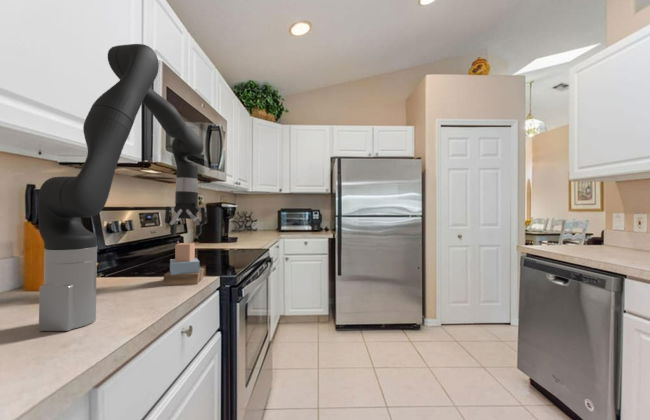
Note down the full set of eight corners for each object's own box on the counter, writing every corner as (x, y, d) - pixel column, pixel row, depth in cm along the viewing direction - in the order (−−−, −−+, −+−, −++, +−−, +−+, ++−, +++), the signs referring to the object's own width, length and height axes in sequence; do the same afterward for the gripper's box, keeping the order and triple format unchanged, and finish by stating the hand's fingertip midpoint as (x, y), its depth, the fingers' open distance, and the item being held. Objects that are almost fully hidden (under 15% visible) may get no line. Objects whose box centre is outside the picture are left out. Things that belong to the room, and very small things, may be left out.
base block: (197, 285, 107) (197, 274, 107) (163, 286, 105) (163, 274, 105) (203, 278, 118) (203, 268, 118) (173, 279, 116) (173, 268, 116)
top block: (199, 272, 110) (199, 261, 110) (171, 274, 105) (171, 263, 105) (196, 268, 117) (196, 257, 117) (169, 270, 113) (170, 259, 113)
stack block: (189, 261, 109) (189, 244, 109) (175, 261, 109) (175, 244, 109) (194, 259, 114) (194, 243, 114) (180, 259, 114) (180, 243, 114)
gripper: (161, 189, 108) (160, 236, 107) (202, 190, 108) (202, 236, 108) (171, 191, 115) (171, 234, 115) (210, 192, 116) (209, 235, 115)
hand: (186, 235), depth 111 cm, fingers open, 8 cm apart
